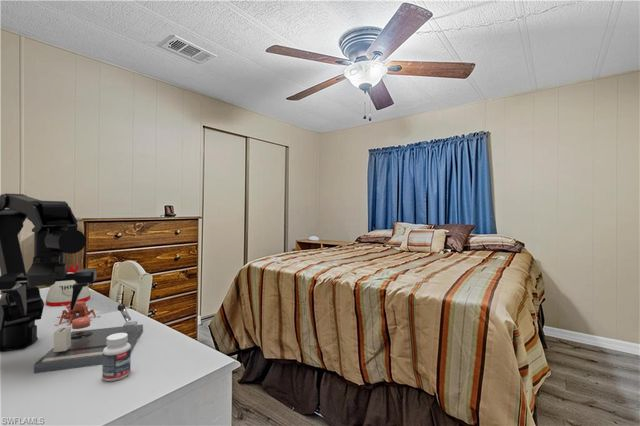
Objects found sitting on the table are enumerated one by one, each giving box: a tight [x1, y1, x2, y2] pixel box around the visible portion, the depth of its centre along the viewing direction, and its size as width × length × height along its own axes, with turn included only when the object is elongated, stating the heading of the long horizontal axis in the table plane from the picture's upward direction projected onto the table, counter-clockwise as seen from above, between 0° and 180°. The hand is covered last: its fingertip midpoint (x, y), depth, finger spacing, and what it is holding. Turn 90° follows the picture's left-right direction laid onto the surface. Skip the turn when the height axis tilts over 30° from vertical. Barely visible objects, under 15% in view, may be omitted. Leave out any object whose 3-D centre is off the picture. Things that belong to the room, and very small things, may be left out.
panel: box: [33, 320, 144, 374], centre depth 82 cm, size 18×20×4 cm
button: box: [71, 316, 91, 330], centre depth 86 cm, size 4×4×2 cm
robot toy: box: [54, 282, 101, 327], centre depth 105 cm, size 15×12×13 cm
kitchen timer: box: [45, 263, 91, 307], centre depth 124 cm, size 14×14×15 cm
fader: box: [53, 326, 72, 352], centre depth 76 cm, size 2×3×5 cm
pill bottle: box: [101, 333, 132, 382], centre depth 69 cm, size 5×5×9 cm
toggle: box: [116, 303, 132, 323], centre depth 89 cm, size 2×2×5 cm
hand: (48, 312), depth 77 cm, fingers open, 9 cm apart
